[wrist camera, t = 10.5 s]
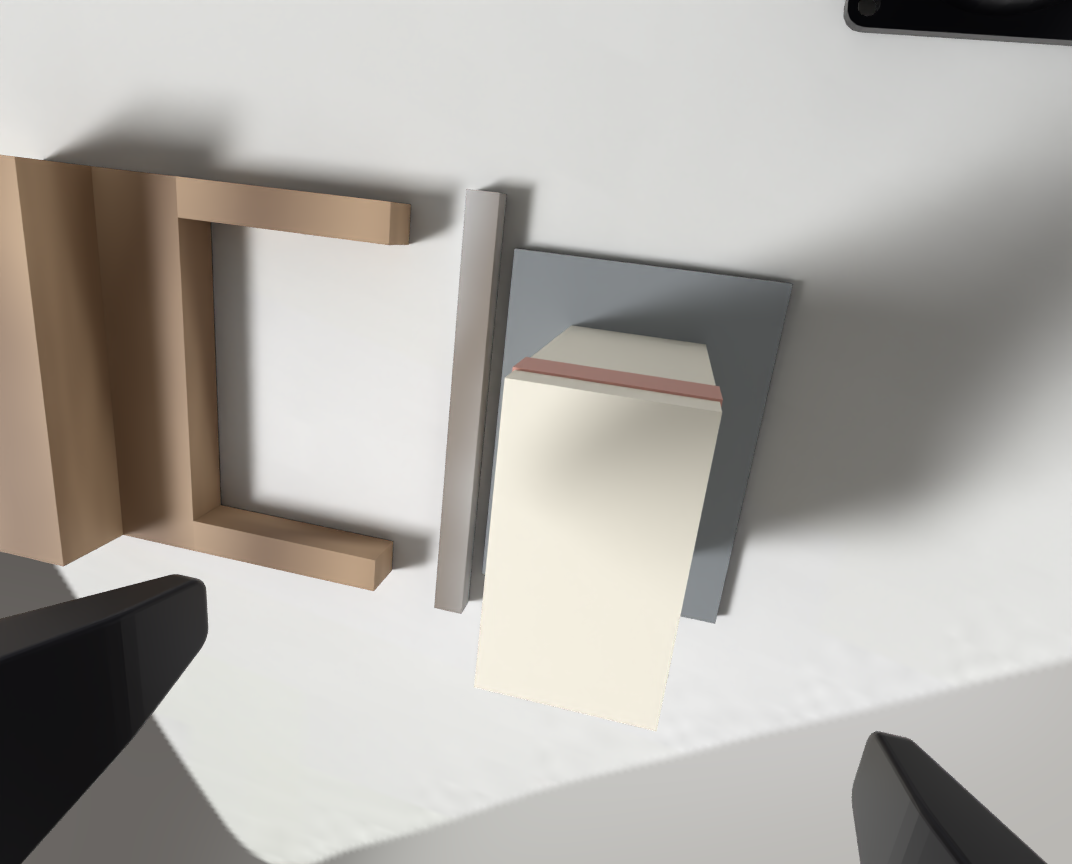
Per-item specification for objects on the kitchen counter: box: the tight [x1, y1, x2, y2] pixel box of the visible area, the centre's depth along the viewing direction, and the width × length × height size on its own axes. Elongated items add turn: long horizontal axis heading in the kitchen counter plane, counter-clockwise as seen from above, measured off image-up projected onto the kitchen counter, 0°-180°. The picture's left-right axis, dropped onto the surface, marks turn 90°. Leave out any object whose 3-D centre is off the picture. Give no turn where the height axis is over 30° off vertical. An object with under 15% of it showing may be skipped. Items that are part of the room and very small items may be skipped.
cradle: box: [0, 155, 507, 614], centre depth 21 cm, size 16×14×4 cm
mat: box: [482, 248, 793, 623], centre depth 21 cm, size 8×11×1 cm
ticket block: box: [474, 325, 723, 731], centre depth 17 cm, size 4×7×8 cm, turn 173°
